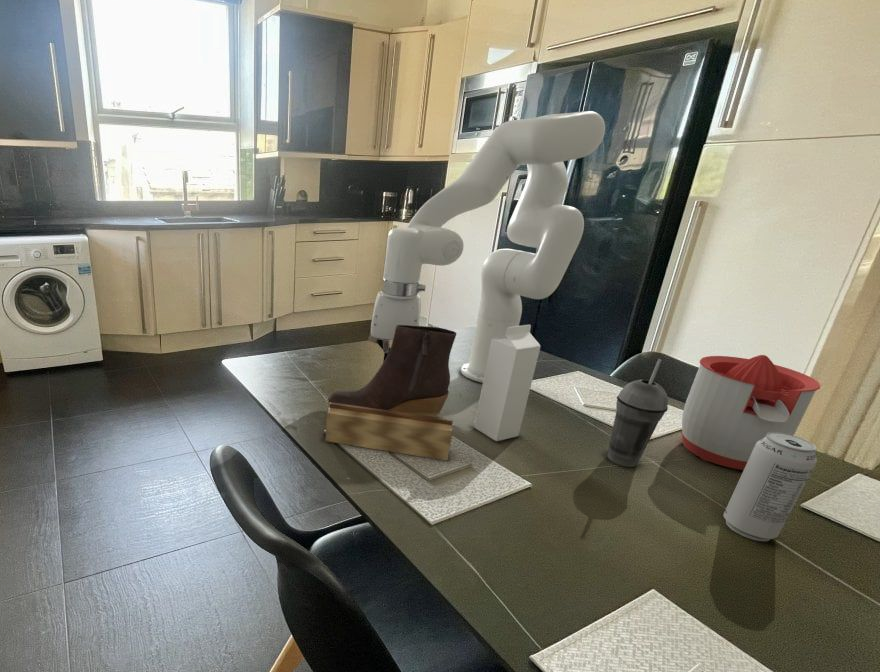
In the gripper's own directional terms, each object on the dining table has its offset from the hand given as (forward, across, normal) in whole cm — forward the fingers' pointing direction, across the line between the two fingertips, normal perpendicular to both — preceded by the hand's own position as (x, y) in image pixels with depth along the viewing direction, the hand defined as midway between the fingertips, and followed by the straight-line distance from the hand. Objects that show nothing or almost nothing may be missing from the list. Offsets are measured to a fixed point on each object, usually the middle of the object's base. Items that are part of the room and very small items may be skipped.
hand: (389, 368), depth 110 cm
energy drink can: (+6, -54, +32) cm, 63 cm away
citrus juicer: (+6, -62, +9) cm, 63 cm away
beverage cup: (+6, -43, +16) cm, 46 cm away
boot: (+6, 0, +12) cm, 13 cm away
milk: (+6, -22, +12) cm, 26 cm away
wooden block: (+6, -1, +24) cm, 25 cm away
